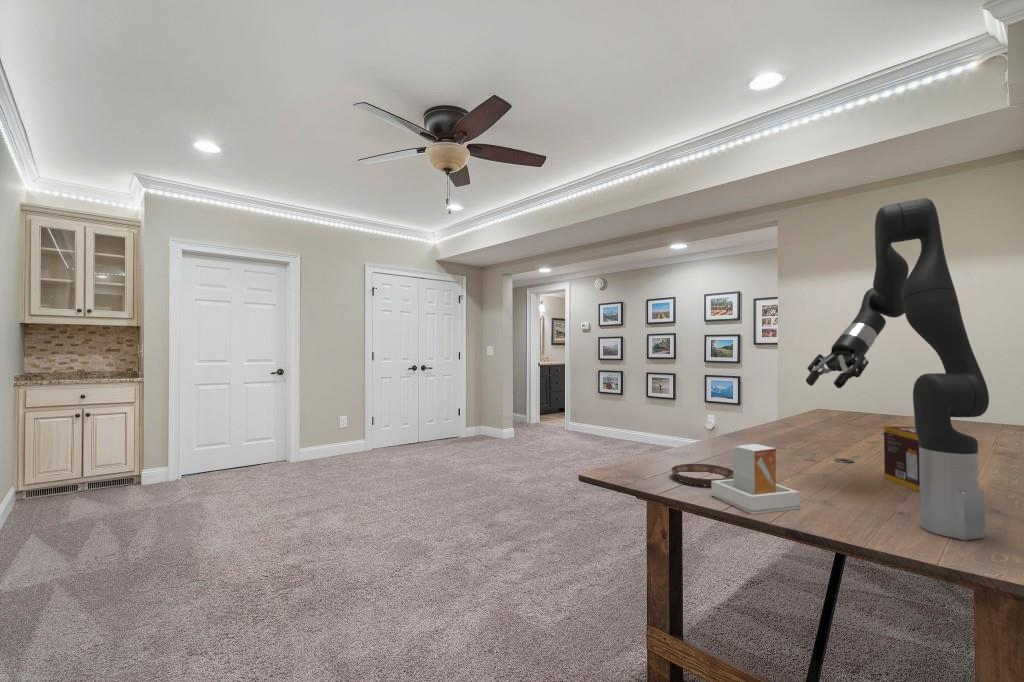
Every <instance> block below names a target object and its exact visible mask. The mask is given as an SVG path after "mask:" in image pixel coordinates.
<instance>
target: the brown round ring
mask: <svg viewBox="0 0 1024 682" xmlns="http://www.w3.org/2000/svg"><path fill="white" fill-rule="evenodd" d="M670 470H671V472H672V474H673V475H674V476H675V478H676V479H677V478H678V479H680V480H682V481H685V482H688V483H691V484H696V485H695V486H697V485H706V486H711V481H715V480H726V479H733V469H731V468H728V467H725V466H720V465H715V464H708V463H707V464H706V463H685V464H684V463H683V464H677V465H673V466H672V467H670ZM679 472H709V473H715V474H719V475H722V476H724V477H725V478H722V479H702V478H693V477H688V476H683V475H680V474H677V473H679ZM678 479H677V480H678ZM680 480H679V481H680ZM682 481H681V482H682ZM691 484H690V485H691ZM706 486H705V487H706Z"/></svg>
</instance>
